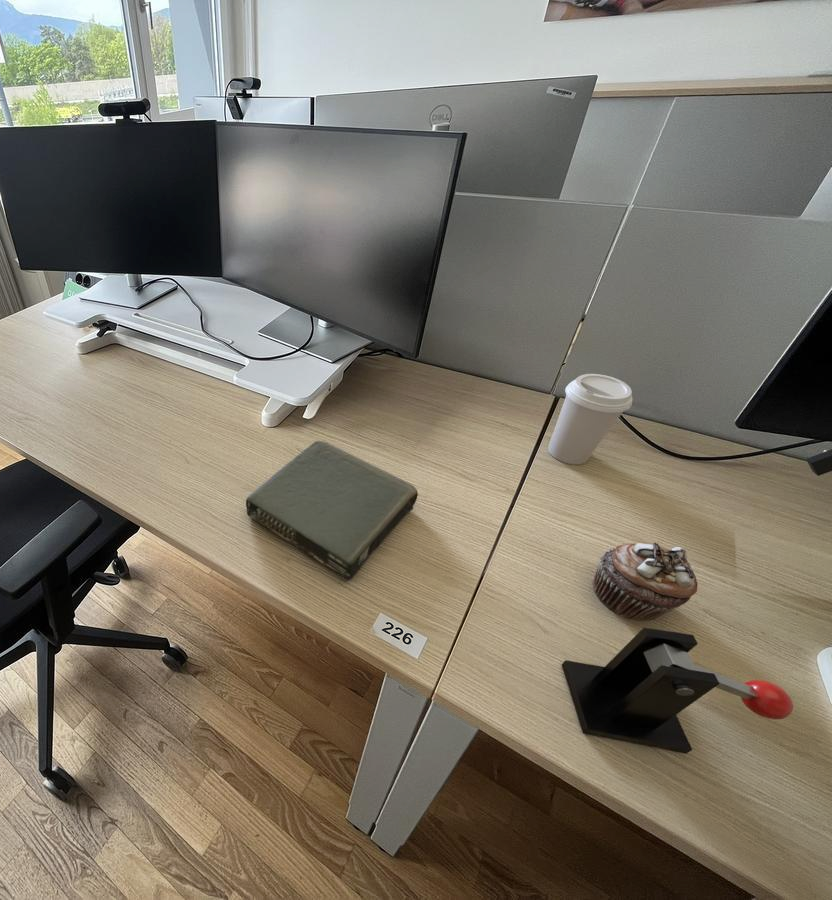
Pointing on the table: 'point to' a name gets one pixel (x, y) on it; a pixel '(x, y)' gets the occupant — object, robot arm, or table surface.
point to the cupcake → (644, 580)
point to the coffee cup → (588, 416)
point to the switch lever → (729, 683)
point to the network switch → (332, 506)
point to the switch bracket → (638, 693)
